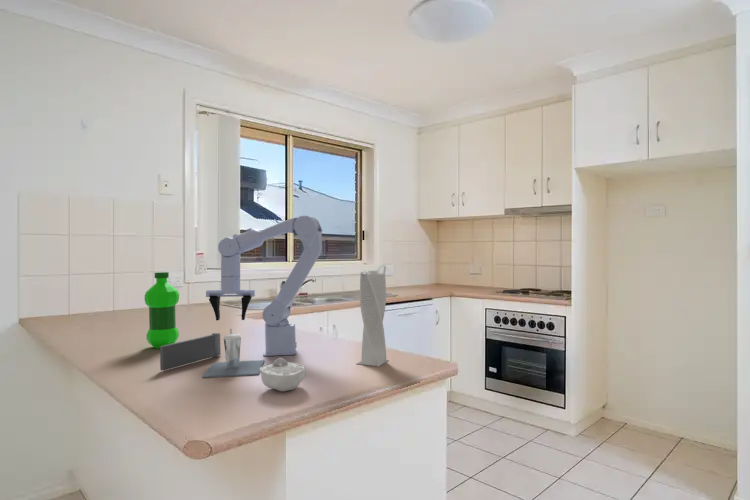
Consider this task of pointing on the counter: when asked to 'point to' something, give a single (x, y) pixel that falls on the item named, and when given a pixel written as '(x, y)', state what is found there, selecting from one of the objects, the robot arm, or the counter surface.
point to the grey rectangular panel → (189, 351)
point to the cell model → (282, 375)
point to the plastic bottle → (162, 311)
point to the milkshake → (232, 350)
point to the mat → (243, 370)
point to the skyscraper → (373, 317)
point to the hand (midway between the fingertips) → (230, 319)
